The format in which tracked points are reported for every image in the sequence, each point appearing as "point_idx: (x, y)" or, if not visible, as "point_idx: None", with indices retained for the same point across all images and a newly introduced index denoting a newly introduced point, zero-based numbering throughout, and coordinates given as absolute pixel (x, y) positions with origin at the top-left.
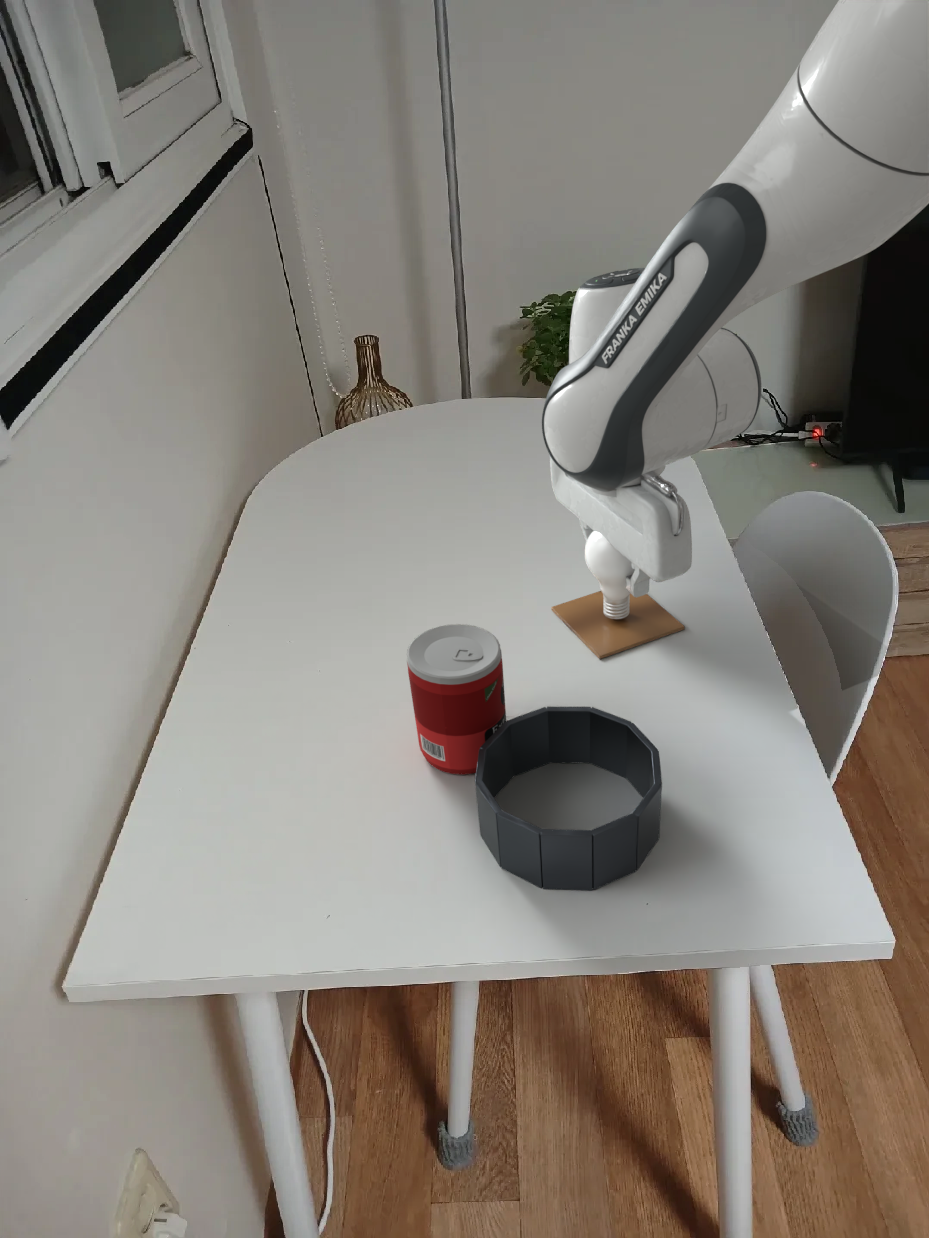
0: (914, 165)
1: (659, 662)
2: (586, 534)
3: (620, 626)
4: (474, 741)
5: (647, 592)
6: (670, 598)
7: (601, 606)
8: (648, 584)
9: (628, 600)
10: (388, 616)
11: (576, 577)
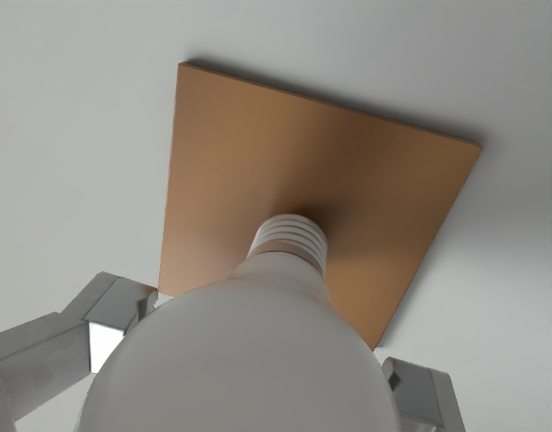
0: None
1: (496, 289)
2: (37, 405)
3: (330, 258)
4: None
5: (444, 373)
6: (335, 31)
7: (230, 224)
8: (455, 405)
9: (320, 264)
10: (33, 424)
11: (68, 151)
